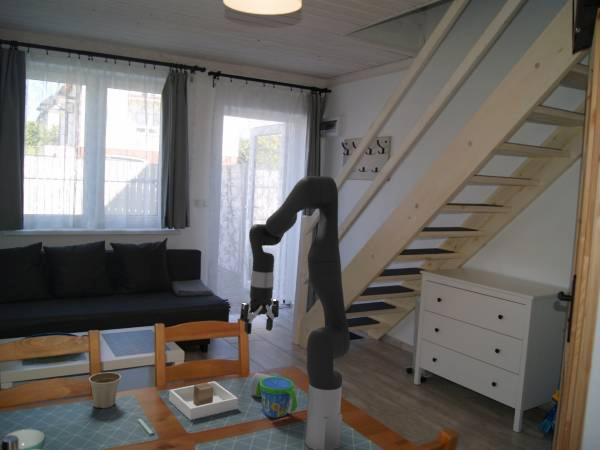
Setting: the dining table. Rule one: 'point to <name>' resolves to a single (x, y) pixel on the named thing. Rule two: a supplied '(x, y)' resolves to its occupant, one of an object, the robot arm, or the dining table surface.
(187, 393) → the white bin
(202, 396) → the walnut block
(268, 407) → the snack cup
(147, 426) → the sage mat
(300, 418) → the dining table surface
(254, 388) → the ceramic mug
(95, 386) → the flower pot
